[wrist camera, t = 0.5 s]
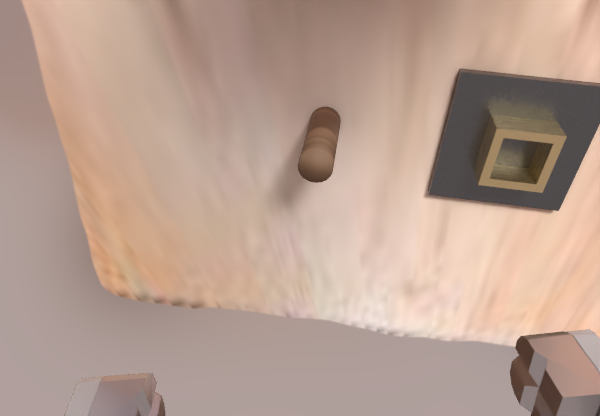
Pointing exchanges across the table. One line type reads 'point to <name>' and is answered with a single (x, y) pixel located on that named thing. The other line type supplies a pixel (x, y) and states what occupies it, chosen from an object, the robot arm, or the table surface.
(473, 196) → the peg socket base
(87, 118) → the table surface
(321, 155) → the rail post
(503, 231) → the table surface
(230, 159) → the table surface
